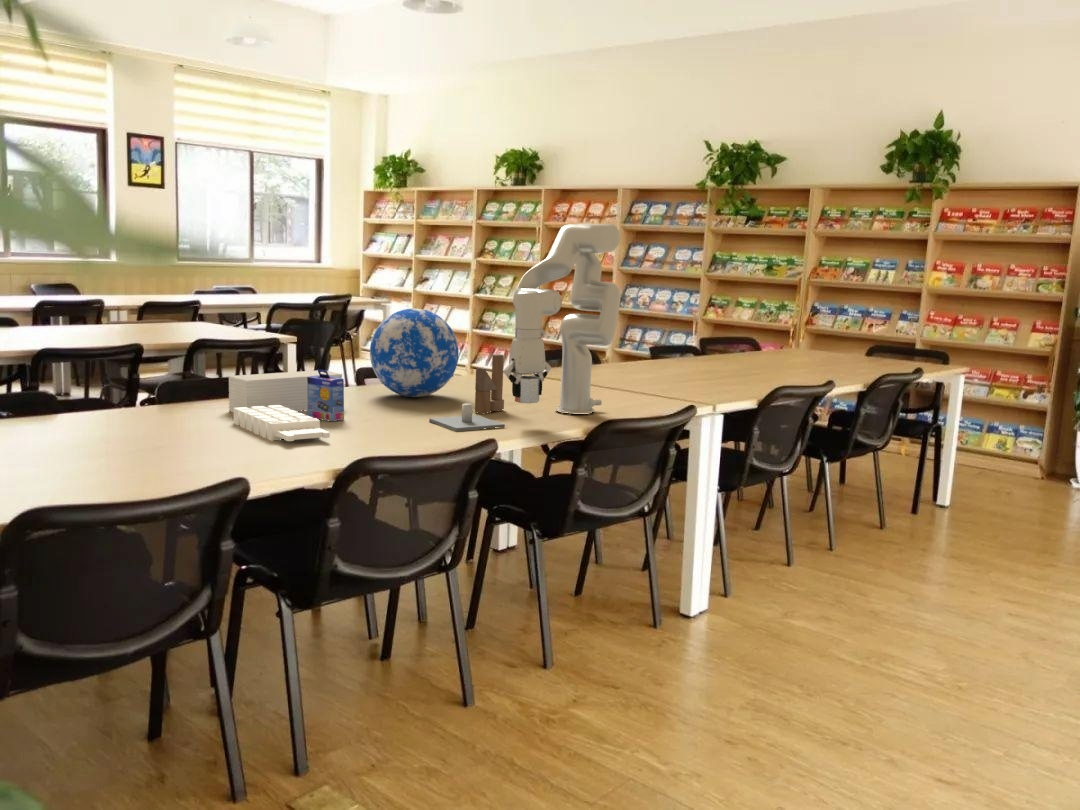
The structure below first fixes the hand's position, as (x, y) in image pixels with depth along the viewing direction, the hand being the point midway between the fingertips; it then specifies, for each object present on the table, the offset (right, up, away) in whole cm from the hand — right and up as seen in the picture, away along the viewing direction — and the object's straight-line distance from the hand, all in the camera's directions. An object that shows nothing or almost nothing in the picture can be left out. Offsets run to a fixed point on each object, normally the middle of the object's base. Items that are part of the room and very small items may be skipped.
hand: (527, 395), depth 275 cm
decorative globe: (-39, 0, +47) cm, 61 cm away
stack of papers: (-73, -5, +12) cm, 74 cm away
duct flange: (-18, -9, 0) cm, 20 cm away
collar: (0, -2, 0) cm, 2 cm away
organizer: (-65, -11, -23) cm, 70 cm away
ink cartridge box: (-59, -7, 0) cm, 59 cm away
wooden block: (-12, -5, +24) cm, 27 cm away
